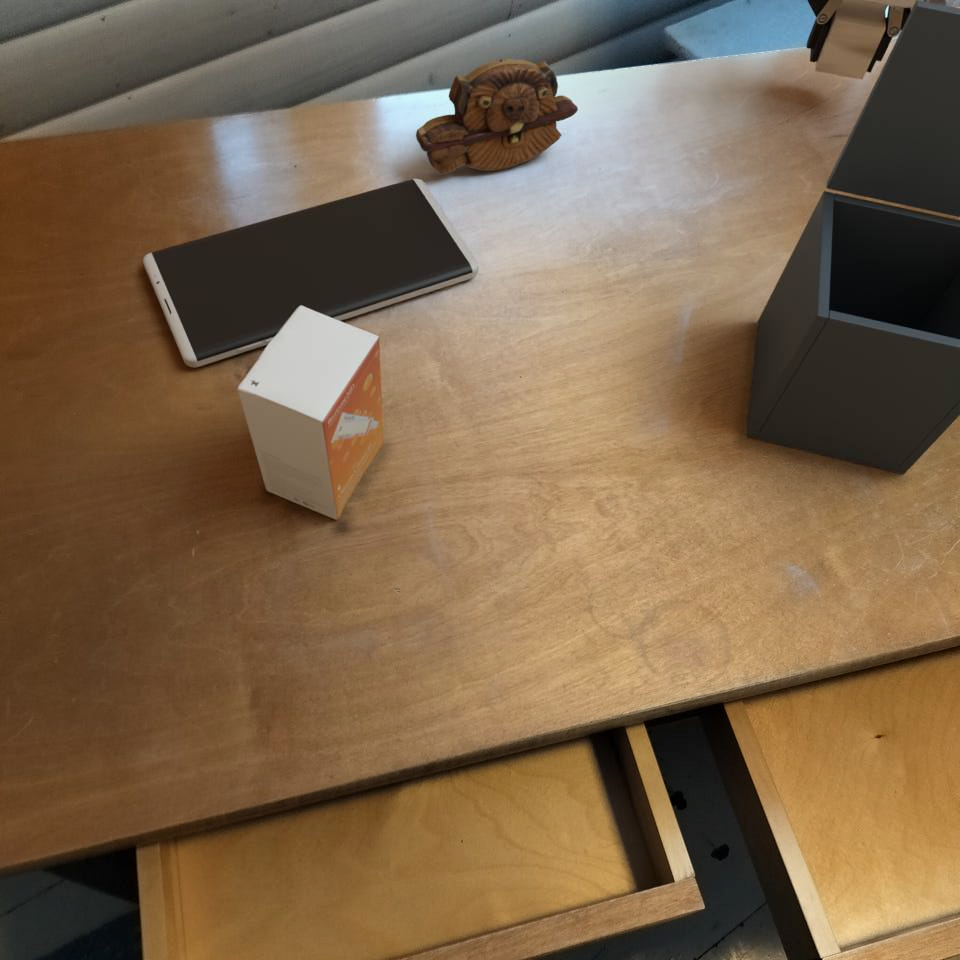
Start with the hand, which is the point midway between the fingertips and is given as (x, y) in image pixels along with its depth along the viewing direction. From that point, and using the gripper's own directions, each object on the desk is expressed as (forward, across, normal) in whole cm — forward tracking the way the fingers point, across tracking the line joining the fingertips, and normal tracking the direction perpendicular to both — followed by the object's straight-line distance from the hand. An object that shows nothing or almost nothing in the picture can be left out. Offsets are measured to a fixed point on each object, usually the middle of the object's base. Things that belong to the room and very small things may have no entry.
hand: (840, 58), depth 91 cm
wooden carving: (+5, +32, +22) cm, 39 cm away
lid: (-17, -2, +36) cm, 39 cm away
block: (0, 0, 0) cm, 0 cm away
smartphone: (+4, +44, +42) cm, 61 cm away
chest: (+5, -2, +42) cm, 42 cm away
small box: (+5, +37, +61) cm, 71 cm away
